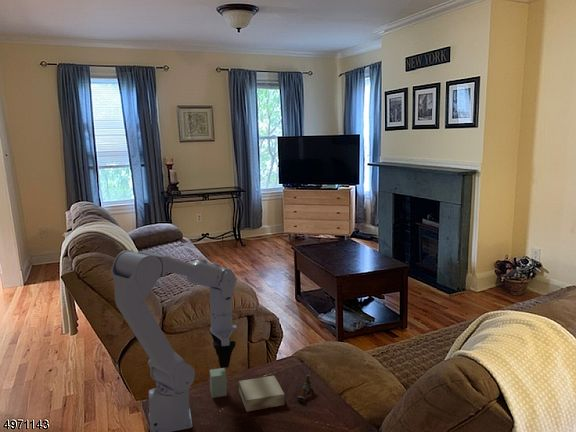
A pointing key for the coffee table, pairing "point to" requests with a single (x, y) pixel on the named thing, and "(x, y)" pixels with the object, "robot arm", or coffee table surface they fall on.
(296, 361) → the coffee table surface
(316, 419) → the coffee table surface
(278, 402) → the beige flat square block
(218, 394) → the sage block
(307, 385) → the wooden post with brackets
